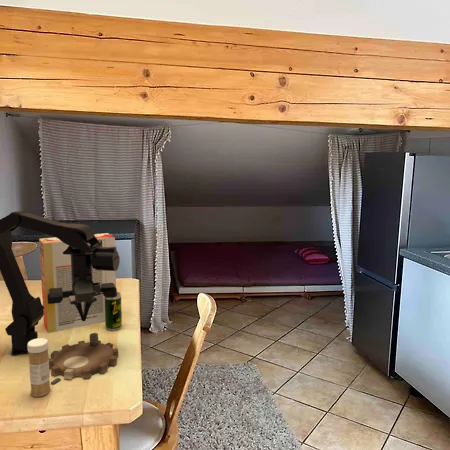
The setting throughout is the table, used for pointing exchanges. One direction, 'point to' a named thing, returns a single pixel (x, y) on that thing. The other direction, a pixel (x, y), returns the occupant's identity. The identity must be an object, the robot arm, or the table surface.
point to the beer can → (113, 313)
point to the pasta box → (69, 285)
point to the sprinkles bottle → (39, 367)
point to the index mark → (55, 381)
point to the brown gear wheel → (83, 358)
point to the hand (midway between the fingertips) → (83, 320)
